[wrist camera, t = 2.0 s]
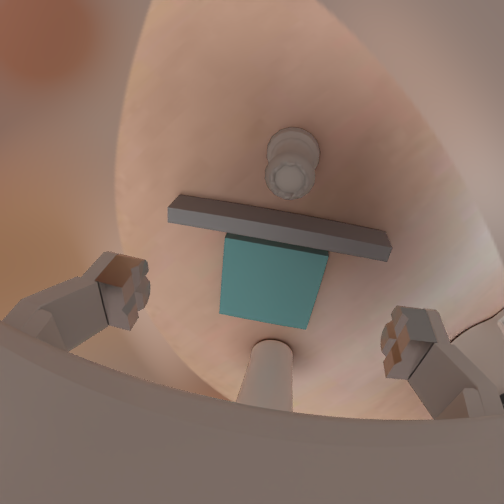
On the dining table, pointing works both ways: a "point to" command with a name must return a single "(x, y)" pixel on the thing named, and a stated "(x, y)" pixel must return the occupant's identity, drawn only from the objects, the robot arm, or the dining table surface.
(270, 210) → the low wall
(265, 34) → the dining table surface
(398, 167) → the dining table surface
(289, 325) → the coaster
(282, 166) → the rook chess piece
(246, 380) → the drinking glass
